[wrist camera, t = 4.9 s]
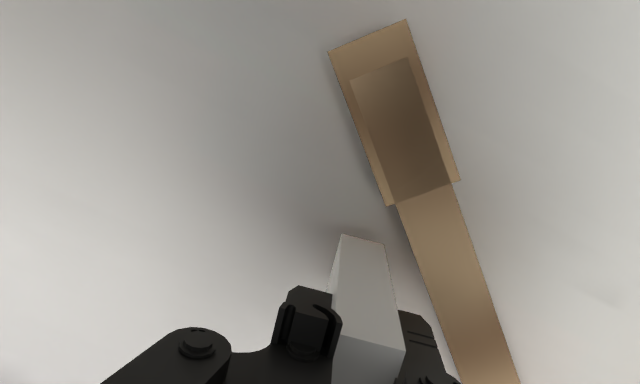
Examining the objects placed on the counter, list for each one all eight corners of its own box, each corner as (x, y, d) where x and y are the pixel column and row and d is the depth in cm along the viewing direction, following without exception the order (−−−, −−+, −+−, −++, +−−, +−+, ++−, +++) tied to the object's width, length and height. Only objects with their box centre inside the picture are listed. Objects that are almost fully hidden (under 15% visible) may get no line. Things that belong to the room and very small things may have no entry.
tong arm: (566, 518, 19) (597, 579, 17) (510, 532, 19) (532, 593, 17) (397, 30, 15) (405, 19, 13) (331, 57, 15) (327, 51, 13)
